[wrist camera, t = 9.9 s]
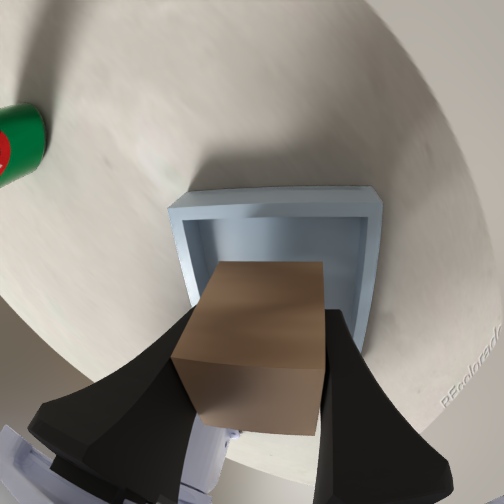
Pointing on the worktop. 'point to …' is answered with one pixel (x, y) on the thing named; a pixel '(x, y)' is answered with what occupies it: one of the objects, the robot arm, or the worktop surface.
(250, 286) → the walnut block
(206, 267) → the tray
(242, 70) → the worktop surface
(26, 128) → the soda can
